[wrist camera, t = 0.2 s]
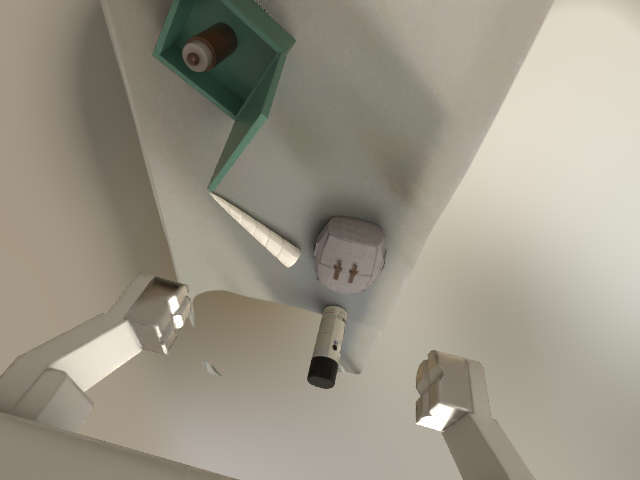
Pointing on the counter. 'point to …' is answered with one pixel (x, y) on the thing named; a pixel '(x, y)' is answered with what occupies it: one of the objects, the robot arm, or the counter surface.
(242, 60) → the chest
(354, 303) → the counter surface
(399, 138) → the counter surface
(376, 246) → the grey rounded bag
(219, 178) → the lid
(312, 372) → the spray can
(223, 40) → the pepper mill
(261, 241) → the unicorn horn
